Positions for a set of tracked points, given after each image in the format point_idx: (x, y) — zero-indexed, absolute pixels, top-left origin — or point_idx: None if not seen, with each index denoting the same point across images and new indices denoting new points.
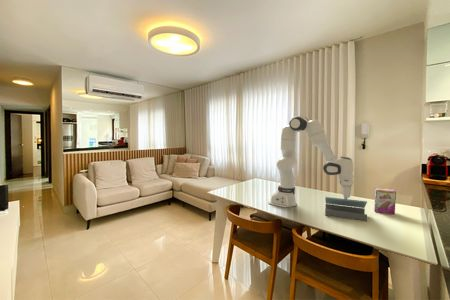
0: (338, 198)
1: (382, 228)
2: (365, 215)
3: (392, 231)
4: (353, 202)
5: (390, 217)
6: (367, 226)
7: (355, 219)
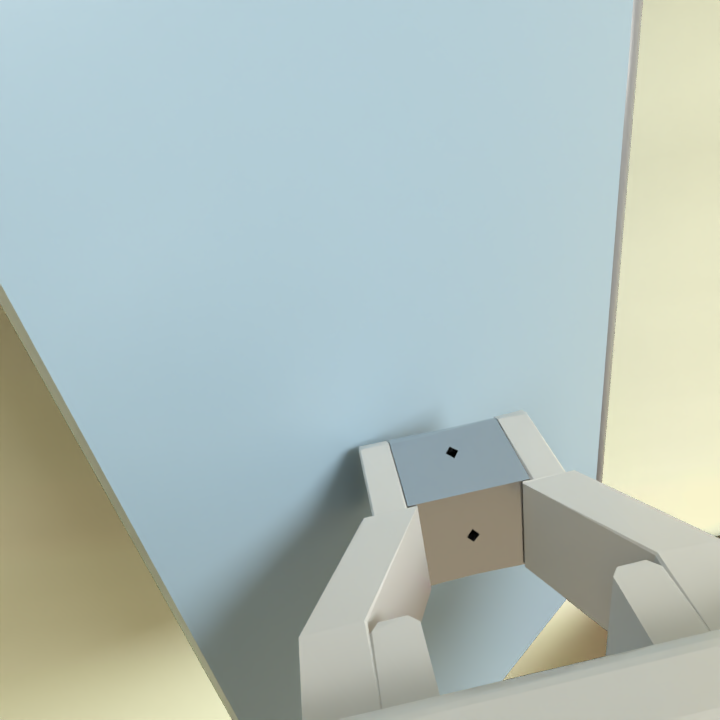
0: (27, 347)
1: (138, 652)
2: None
3: (127, 706)
4: None
5: (543, 652)
6: (62, 554)
7: None
